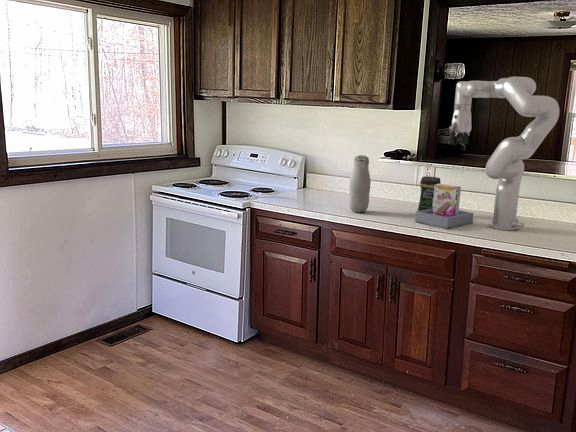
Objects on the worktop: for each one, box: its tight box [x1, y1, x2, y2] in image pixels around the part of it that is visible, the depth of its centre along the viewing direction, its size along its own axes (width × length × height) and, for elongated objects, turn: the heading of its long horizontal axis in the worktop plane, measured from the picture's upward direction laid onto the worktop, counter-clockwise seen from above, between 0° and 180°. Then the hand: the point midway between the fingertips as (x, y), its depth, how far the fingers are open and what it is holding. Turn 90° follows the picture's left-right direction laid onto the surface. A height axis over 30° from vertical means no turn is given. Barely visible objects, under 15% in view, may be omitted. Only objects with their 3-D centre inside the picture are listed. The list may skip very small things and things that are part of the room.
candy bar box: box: [432, 183, 462, 218], centre depth 251 cm, size 11×5×16 cm, turn 54°
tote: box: [414, 209, 474, 230], centre depth 253 cm, size 17×20×5 cm
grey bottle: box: [348, 154, 372, 213], centre depth 270 cm, size 10×10×28 cm
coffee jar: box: [417, 175, 442, 211], centre depth 270 cm, size 10×8×19 cm
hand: (459, 144), depth 266 cm, fingers open, 9 cm apart
